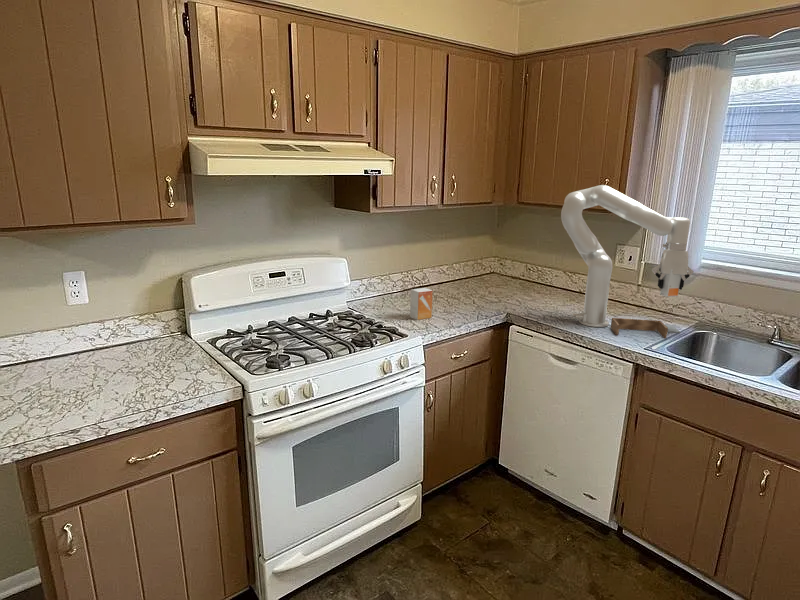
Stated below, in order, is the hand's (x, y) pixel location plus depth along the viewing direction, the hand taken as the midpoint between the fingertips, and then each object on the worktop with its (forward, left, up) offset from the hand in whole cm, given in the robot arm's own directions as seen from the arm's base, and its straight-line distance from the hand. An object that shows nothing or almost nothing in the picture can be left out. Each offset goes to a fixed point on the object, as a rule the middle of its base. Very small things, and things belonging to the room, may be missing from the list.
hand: (670, 288), depth 222 cm
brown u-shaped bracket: (-13, -9, -18) cm, 24 cm away
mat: (0, 0, -18) cm, 18 cm away
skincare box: (0, 0, -4) cm, 4 cm away
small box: (-106, -6, -18) cm, 108 cm away
